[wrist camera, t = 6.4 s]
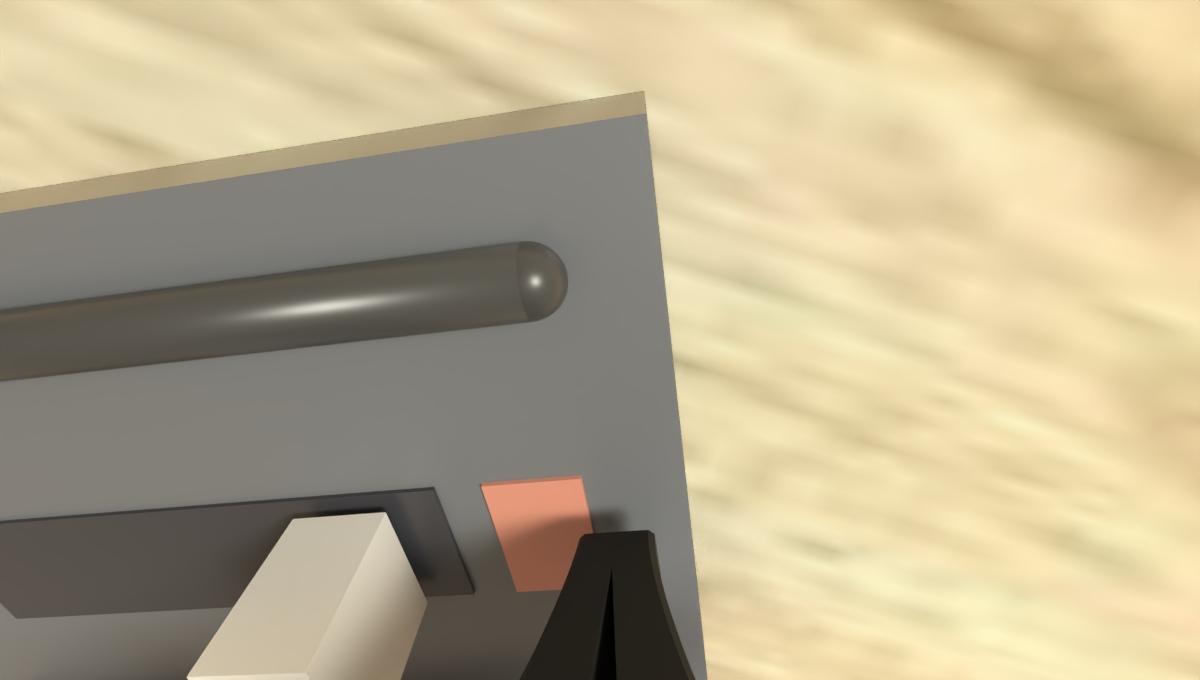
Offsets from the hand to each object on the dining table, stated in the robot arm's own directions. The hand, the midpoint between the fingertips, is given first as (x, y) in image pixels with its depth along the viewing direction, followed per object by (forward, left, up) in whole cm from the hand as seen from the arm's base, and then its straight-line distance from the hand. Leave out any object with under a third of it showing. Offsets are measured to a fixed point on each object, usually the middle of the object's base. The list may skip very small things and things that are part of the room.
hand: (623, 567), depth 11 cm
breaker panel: (0, +10, -3) cm, 10 cm away
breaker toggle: (0, +6, -1) cm, 6 cm away
